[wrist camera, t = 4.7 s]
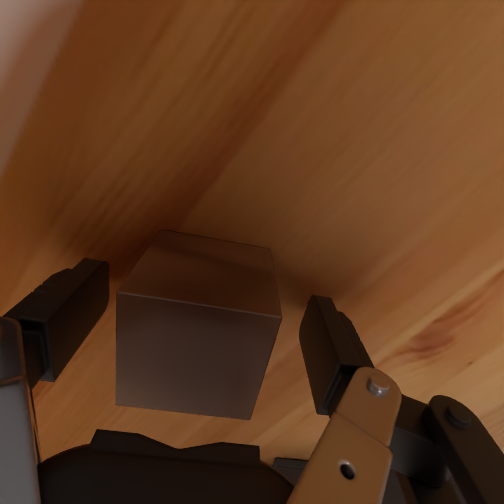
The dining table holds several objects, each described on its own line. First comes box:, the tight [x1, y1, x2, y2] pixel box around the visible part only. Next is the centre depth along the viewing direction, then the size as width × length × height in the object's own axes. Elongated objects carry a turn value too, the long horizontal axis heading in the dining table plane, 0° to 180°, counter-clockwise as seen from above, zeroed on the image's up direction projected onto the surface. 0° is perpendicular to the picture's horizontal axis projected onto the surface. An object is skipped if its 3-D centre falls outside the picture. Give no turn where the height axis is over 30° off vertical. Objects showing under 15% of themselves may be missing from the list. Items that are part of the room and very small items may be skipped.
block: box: [116, 230, 282, 420], centre depth 11 cm, size 4×4×4 cm
